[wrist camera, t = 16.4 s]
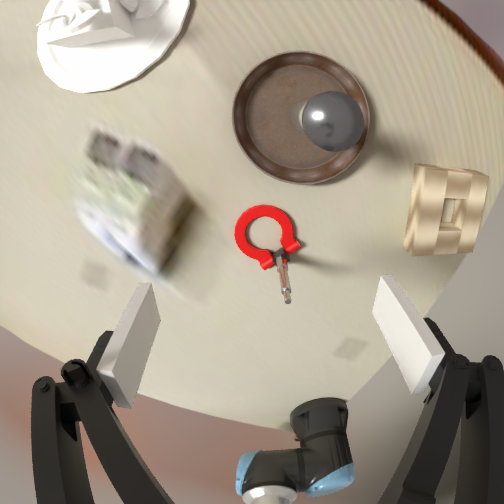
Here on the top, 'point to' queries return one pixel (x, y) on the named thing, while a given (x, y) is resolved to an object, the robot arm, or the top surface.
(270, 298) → the top surface
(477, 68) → the top surface
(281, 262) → the tow hook
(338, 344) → the top surface
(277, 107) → the plant saucer
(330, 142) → the steel pin
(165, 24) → the dish
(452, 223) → the oak hitch block
